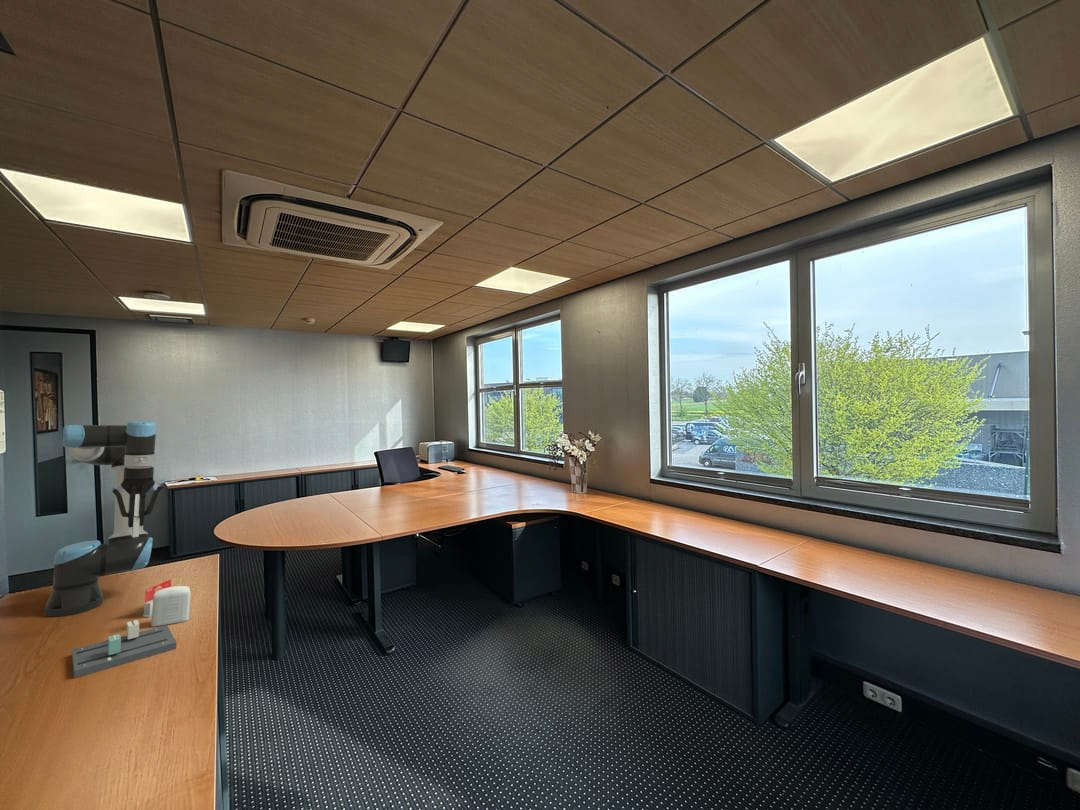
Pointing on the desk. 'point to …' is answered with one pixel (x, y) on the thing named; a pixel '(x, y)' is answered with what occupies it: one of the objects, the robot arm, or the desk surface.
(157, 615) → the photo printer
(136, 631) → the ivory fader
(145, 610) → the ink cartridge box
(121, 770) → the desk surface
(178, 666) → the desk surface
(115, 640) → the teal fader
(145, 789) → the desk surface
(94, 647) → the console
